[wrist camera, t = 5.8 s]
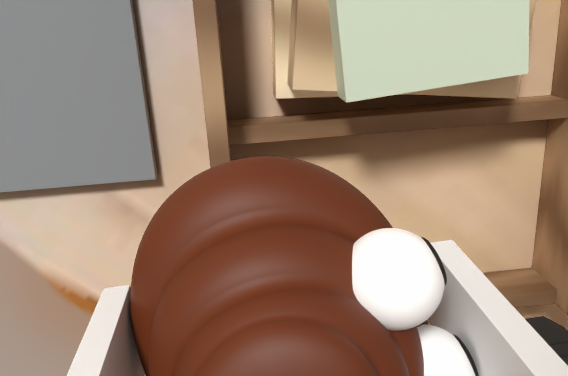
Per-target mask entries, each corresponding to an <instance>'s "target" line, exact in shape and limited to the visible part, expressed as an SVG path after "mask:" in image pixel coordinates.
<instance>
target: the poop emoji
mask: <svg viewBox="0 0 568 376" xmlns="http://www.w3.org/2000/svg"><path fill="white" fill-rule="evenodd" d="M446 283H447V276H446V272H445V269H444V266H443V263H442V261H441V259H440V257H439V255H438V253H437V252H436V250H435V249H434V247H433V246H432V245H431V243H430V242H429V241H428V240H427V239H425V238H423V237H422V238H421V237H419V236H417V235H416V234H414V233H411V232H409V231H406V230H403V229H397V228H393V227H392V226H391V225H390V223H389V222H388V220H387V219H386V218H385V217H384V215H383V214H382V213H381V212H380V211H379V210H378V208H377V207H376V206H375V205H374V204H373V203H372V202H371V201H370V200H369V199H368V198H367V197H366V196H365V195H364V194H362V193H361V192H360V191H359V190H358V189H357V188H355V187H354V186H353V185H351V184H350V183H348V182H347V181H346V180H344V179H343V178H341V177H339V176H338V175H336V174H334V173H332V172H330V171H328V170H326V169H324V168H322V167H320V166H317V165H314V164H312V163H308V162H305V161H301V160H298V159H293V158H287V157H277V156H258V157H248V158H242V159H237V160H233V161H229V162H226V163H223V164H220V165H217V166H215V167H212V168H210V169H208V170H206V171H204V172H202V173H200V174H198V175H196V176H195V177H193V178H192V179H190V180H189V181H187V182H186V183H184V184H183V185H182V186H181V187H179V188H178V189H177V190H176V191H175V192H174V193H173V194H171V195H170V196H169V197H168V199H167V200H166V201H165V202H164V203H163V204H162V205H161V207H160V208H159V209H158V211H157V212H156V213H155V215H154V216H153V218H152V220H151V221H150V223H149V225H148V227H147V229H146V231H145V233H144V235H143V237H142V240H141V242H140V245H139V248H138V251H137V255H136V258H135V263H134V267H133V274H132V282H131V318H132V326H133V333H134V338H135V343H136V347H137V351H138V354H139V358H140V361H141V364H142V367H143V370H144V372H145V375H146V376H479V375H478V371H477V368H476V365H475V363H474V360H473V358H472V356H471V354H470V352H469V351H468V349H467V347H466V346H465V344H464V343H463V342H462V340H461V339H460V338H459V337H458V336H456V335H455V334H453V335H452V334H451V333H449V332H448V331H446V330H444V329H442V328H439V327H436V326H433V325H428V323H427V319H428V318H429V317H430V316H431V315H432V314H433V313H434V312H435V310H436V309H437V308H438V306H439V304H440V302H441V299H442V296H443V292H444V286H445V285H446Z"/></svg>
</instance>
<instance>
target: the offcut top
mask: <svg viewBox="0 0 568 376" xmlns="http://www.w3.org/2000/svg"><path fill="white" fill-rule="evenodd" d="M529 1H530V0H328V8H329V17H330V26H331V36H332V45H333V55H334V64H335V74H336V83H337V93H338V96H339V97H340V98H341V99H342V100H344V101H345V102H346V103H347V102H353V101H360V100H366V99H372V98H378V97H384V96H391V95H397V94H403V93H409V92H416V91H422V90H428V89H434V88H440V87H447V86H453V85H459V84H465V83H472V82H478V81H484V80H490V79H496V78H503V77H509V76H515V75H521V74H528V66H529Z"/></svg>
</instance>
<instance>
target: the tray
mask: <svg viewBox="0 0 568 376" xmlns="http://www.w3.org/2000/svg"><path fill="white" fill-rule="evenodd" d="M193 8H194V18H195V27H196V36H197V46H198V55H199V64H200V73H201V83H202V92H203V101H204V111H205V120H206V129H207V138H208V148H209V157H210V166H211V168H212V167H215V166H217V165H220V164H223V163H226V162H229V161H231V151H230V145H237V144H249V143H262V142H274V141H286V140H299V139H311V138H323V137H336V136H348V135H360V134H373V133H385V132H397V131H410V130H422V129H434V128H447V127H459V126H471V125H484V124H496V123H508V122H521V121H533V120H545V119H548V128H547V137H546V146H545V155H544V164H543V173H542V182H541V191H540V200H539V209H538V218H537V227H536V236H535V245H534V254H533V263H532V268H526V269H517V270H507V271H498V272H488V273H483V274H484V275H485V276H486V277H487V278H488V280H489V281H490V282H491V283H492V284H493V285H494V286H495V287H496V288H497V289H498V290H499V292H500V293H501V294H502V295H503V296H504V297H505V298H506V299H507V300H508V301H509V302H510V304H511V305H512V306H513V307H514V308H518V307H527V306H536V305H545V304H554V303H556V304H557V305H558V306H559V307H560V308H561V309H562V310H564V311H565V312H566V313H567V314H568V0H562V2H561V11H560V20H559V29H558V38H557V47H556V56H555V65H554V74H553V83H552V92H551V95H547V96H534V97H521V98H517V99H513V98H508V99H495V100H482V101H470V102H457V103H444V104H431V105H418V106H405V107H392V108H379V109H366V110H353V111H340V112H327V113H315V114H302V115H289V116H276V117H263V118H250V119H237V120H228V118H227V108H226V97H225V86H224V76H223V65H222V54H221V44H220V33H219V22H218V12H217V1H216V0H193Z"/></svg>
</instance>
